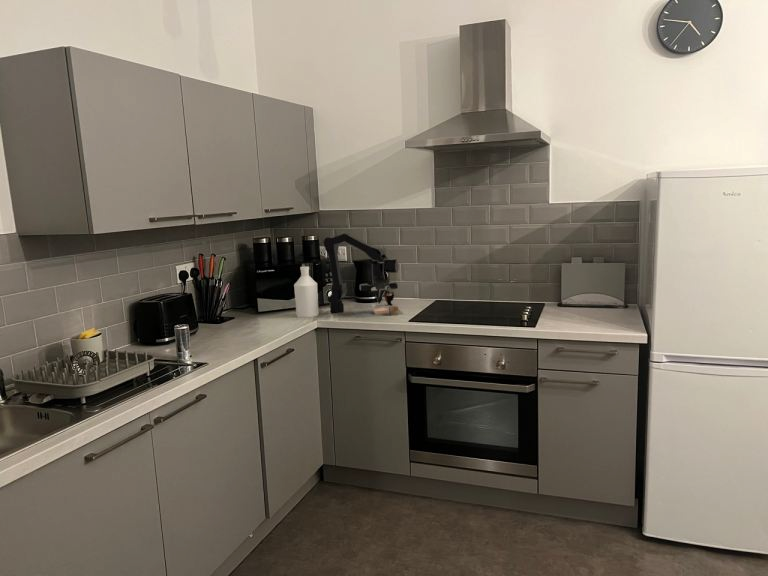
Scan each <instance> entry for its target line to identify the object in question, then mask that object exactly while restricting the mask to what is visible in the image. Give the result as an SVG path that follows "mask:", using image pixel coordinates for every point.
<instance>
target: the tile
mask: <svg viewBox="0 0 768 576" xmlns="http://www.w3.org/2000/svg"><path fill="white" fill-rule="evenodd" d="M388 309H389V308H387V307H380V308H379V307H378V308H372V310H373V313H374V314H387V313H388Z"/></svg>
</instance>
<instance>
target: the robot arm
mask: <svg viewBox="0 0 768 576" xmlns="http://www.w3.org/2000/svg"><path fill="white" fill-rule="evenodd" d="M343 242H345V243H347V244H349V245H351V246H352V247H355V248H357V249H358V250H360V251H362V252H363V253H365V254H366V256H368V257H369V258H370V260H369V261H368V262H367V264H368V265H371V275H372V284H368V283H361V284H359V290H360V292H367V291H369V290H370V291H371V292H372V293H374V296H375V298H376V300H377V303H378V304H381V301H382V298H383V296H384V293H385V291H387V288H390V289H391V290H397V289H398V288H399V287H398V286H399V285H398V282H395V281H390V279H389V278H385V276H384V274H385V273H386V274H387V273H388V274H389V273H391V274H397V273H398V272H399V269H400V268H399V263H398V259H397V258H393V259H390V258H389V257H387V256H386V254H385V250H384V249H383V248H381V247H379V246H376V245H371V244H369V243H367V242H365V241H363V240H361V239H359V238H357V237H355V236H353V235H351V234H350V233H348V232H345V233H342V234H340V235H337V236H335V235H334V236H329V237H326V238H324V240H323V247H324V249H325V251H326V253H327V255H328V260H329V265H330V272H331V273H330V274H331V279H332V285H331V294H330V295H329V296H328V297H327V302H328V303H329V313H330V314H331V315H332V314H343V313H344V312H345V308H344V302H343V300H344V297H345V296H346V295H347V291H348V288H347V283H346V282H345V283H344V282H343V280H342V275H341V268H340V261H339V255H338V253H339V244H341V243H343ZM384 272H385V273H384Z"/></svg>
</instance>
